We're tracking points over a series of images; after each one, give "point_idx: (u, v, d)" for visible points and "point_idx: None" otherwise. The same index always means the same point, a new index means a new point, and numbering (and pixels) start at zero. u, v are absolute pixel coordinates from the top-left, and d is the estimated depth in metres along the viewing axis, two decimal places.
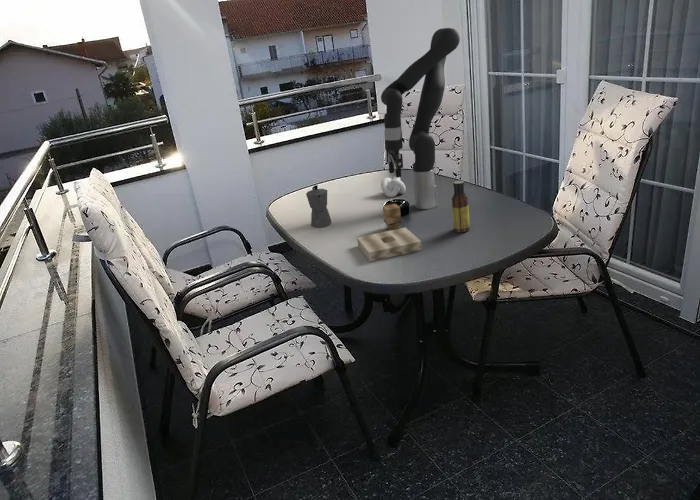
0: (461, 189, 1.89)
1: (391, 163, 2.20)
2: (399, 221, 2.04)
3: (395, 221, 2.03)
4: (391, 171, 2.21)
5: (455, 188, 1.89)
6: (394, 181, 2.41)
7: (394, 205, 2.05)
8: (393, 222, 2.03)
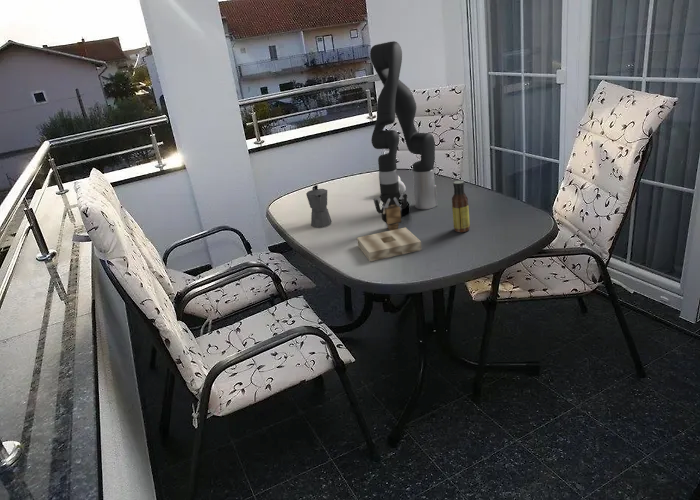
0: (461, 189, 1.89)
1: None
2: (399, 221, 2.04)
3: (395, 221, 2.03)
4: None
5: (455, 188, 1.89)
6: None
7: (394, 205, 2.05)
8: (393, 222, 2.03)
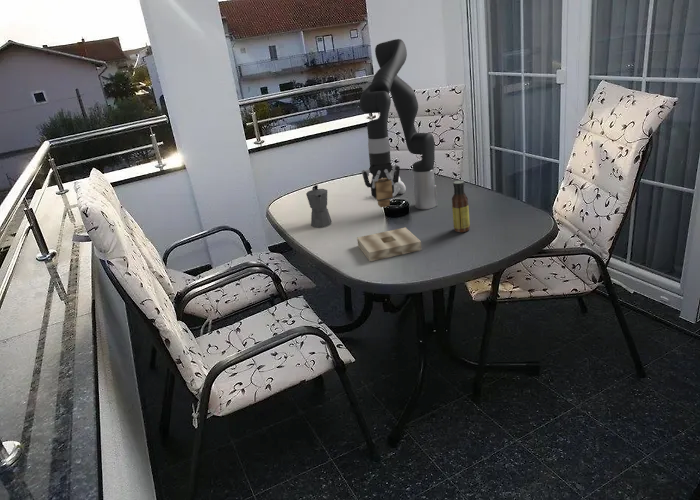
0: (461, 189, 1.89)
1: None
2: (390, 197, 1.81)
3: (386, 196, 1.80)
4: None
5: (455, 188, 1.89)
6: None
7: (385, 179, 1.82)
8: (384, 197, 1.80)
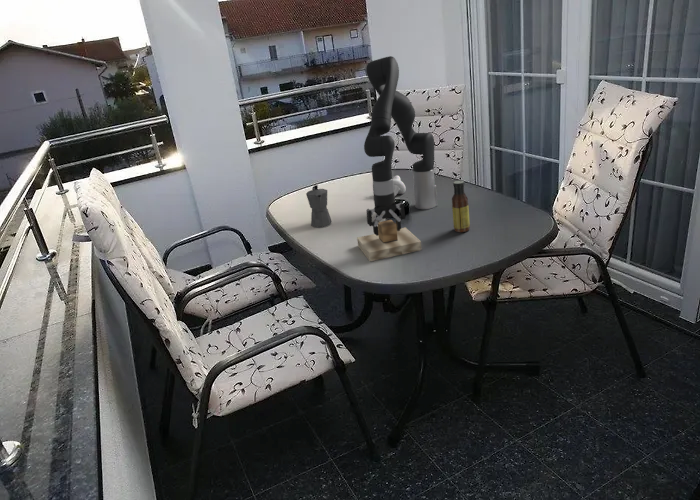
0: (461, 189, 1.89)
1: None
2: (395, 239, 1.86)
3: (391, 239, 1.85)
4: None
5: (455, 188, 1.89)
6: (394, 181, 2.41)
7: (390, 221, 1.87)
8: (389, 240, 1.85)
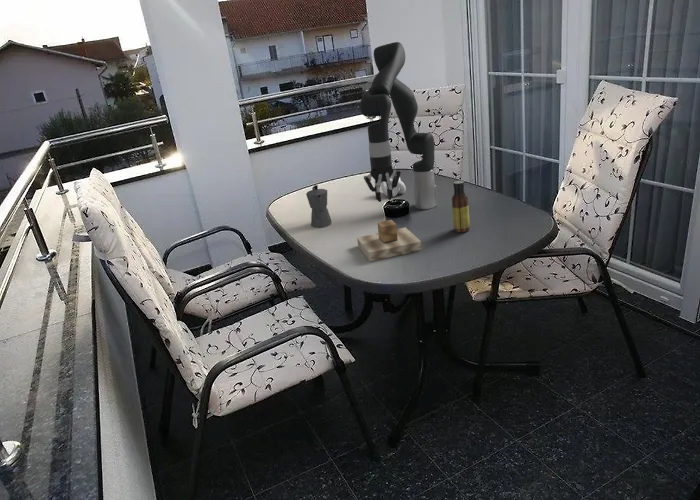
0: (461, 189, 1.89)
1: None
2: (395, 239, 1.86)
3: (391, 239, 1.85)
4: None
5: (455, 188, 1.89)
6: None
7: (390, 221, 1.87)
8: (389, 240, 1.85)
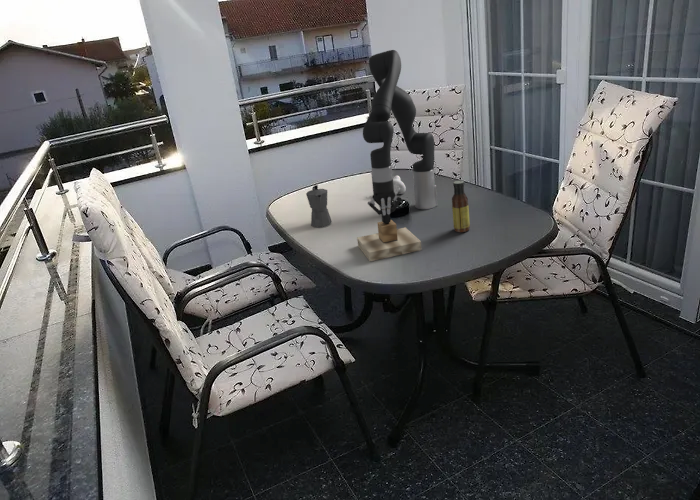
0: (461, 189, 1.89)
1: None
2: (395, 239, 1.86)
3: (391, 239, 1.85)
4: None
5: (455, 188, 1.89)
6: (394, 181, 2.41)
7: (390, 221, 1.87)
8: (389, 240, 1.85)
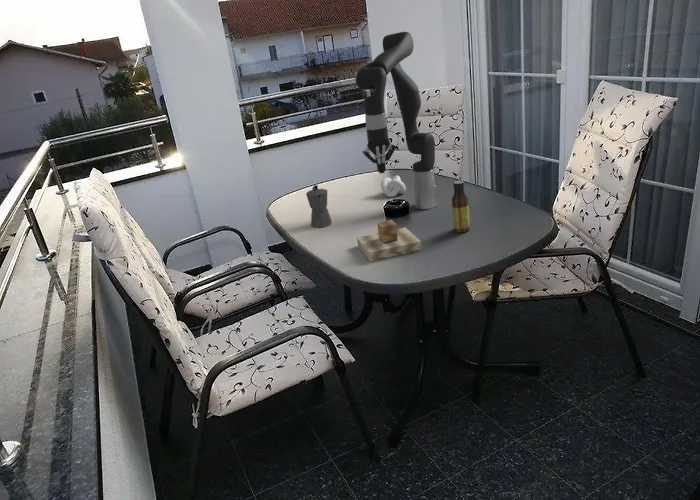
0: (461, 189, 1.89)
1: None
2: (395, 239, 1.86)
3: (391, 239, 1.85)
4: None
5: (455, 188, 1.89)
6: (394, 181, 2.41)
7: (390, 221, 1.87)
8: (389, 240, 1.85)
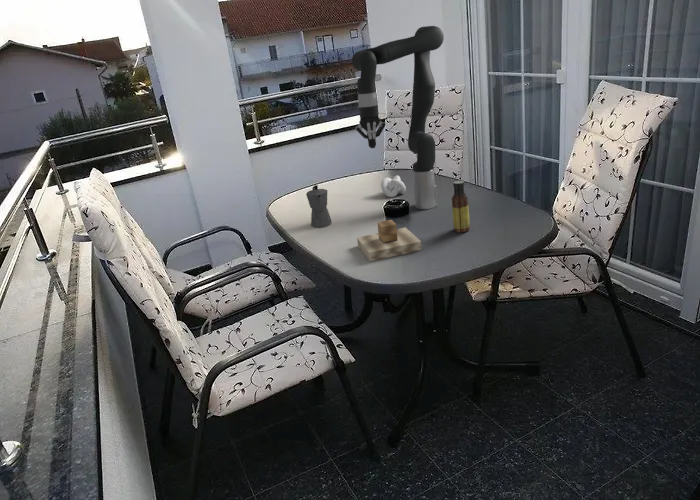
0: (461, 189, 1.89)
1: None
2: (395, 239, 1.86)
3: (391, 239, 1.85)
4: None
5: (455, 188, 1.89)
6: (394, 181, 2.41)
7: (390, 221, 1.87)
8: (389, 240, 1.85)
